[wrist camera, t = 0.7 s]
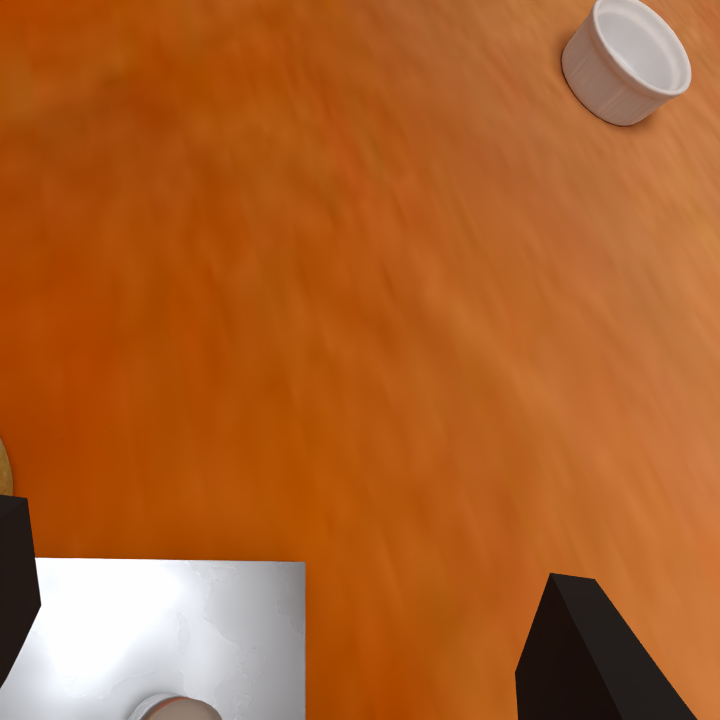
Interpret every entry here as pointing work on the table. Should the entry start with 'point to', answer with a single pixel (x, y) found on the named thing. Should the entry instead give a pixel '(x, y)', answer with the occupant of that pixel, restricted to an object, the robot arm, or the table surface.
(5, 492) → the bread roll
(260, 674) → the square steel plate
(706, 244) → the table surface
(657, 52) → the ramekin
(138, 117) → the table surface
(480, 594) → the table surface
